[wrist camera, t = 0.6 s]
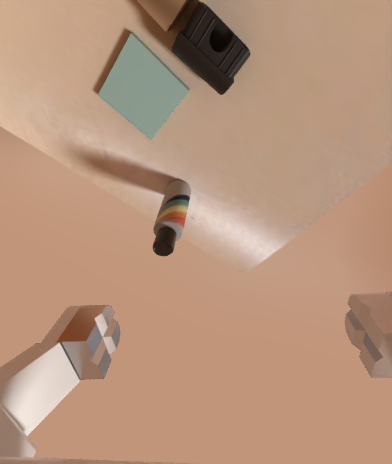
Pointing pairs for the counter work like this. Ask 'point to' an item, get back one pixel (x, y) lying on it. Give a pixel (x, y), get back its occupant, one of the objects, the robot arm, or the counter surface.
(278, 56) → the counter surface
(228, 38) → the end cap
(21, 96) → the counter surface
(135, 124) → the teal board
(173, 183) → the lotion bottle
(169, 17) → the walnut block
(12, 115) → the counter surface
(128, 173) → the counter surface
